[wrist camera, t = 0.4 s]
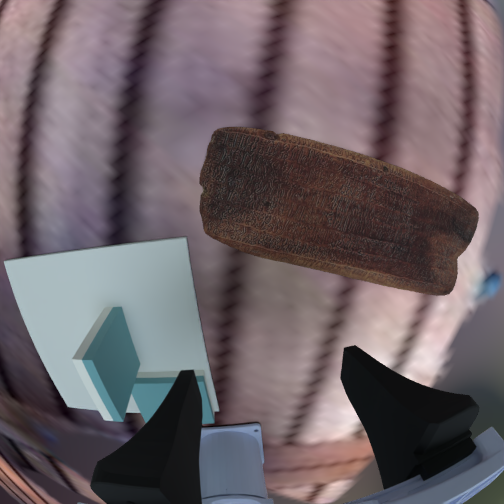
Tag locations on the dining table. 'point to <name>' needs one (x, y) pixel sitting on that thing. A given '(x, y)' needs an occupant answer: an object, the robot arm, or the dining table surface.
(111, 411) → the tile
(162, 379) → the flat tile
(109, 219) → the dining table surface
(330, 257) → the wooden tablet
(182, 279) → the felt mat
